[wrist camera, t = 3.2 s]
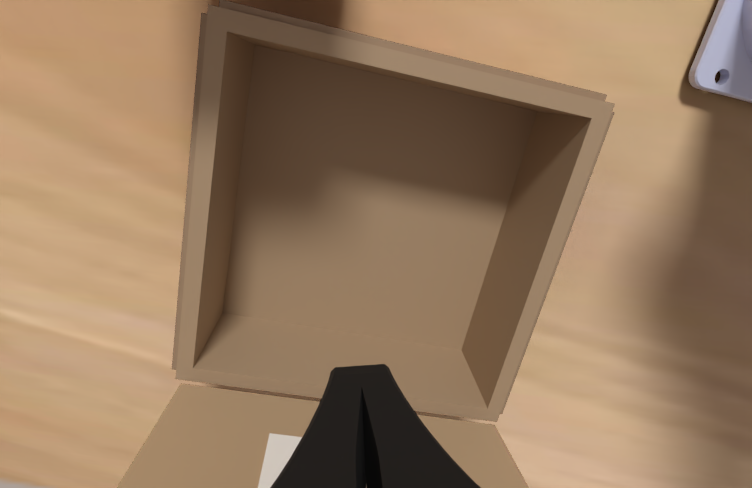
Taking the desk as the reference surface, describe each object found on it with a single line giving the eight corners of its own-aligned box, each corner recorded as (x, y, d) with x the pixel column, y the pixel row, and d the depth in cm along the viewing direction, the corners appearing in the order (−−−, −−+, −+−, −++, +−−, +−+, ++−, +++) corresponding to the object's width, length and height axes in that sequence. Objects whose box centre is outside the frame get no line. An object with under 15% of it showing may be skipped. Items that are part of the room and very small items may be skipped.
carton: (558, 95, 16) (624, 98, 12) (471, 358, 20) (502, 422, 16) (237, 17, 15) (200, -7, 11) (205, 317, 18) (169, 378, 14)
